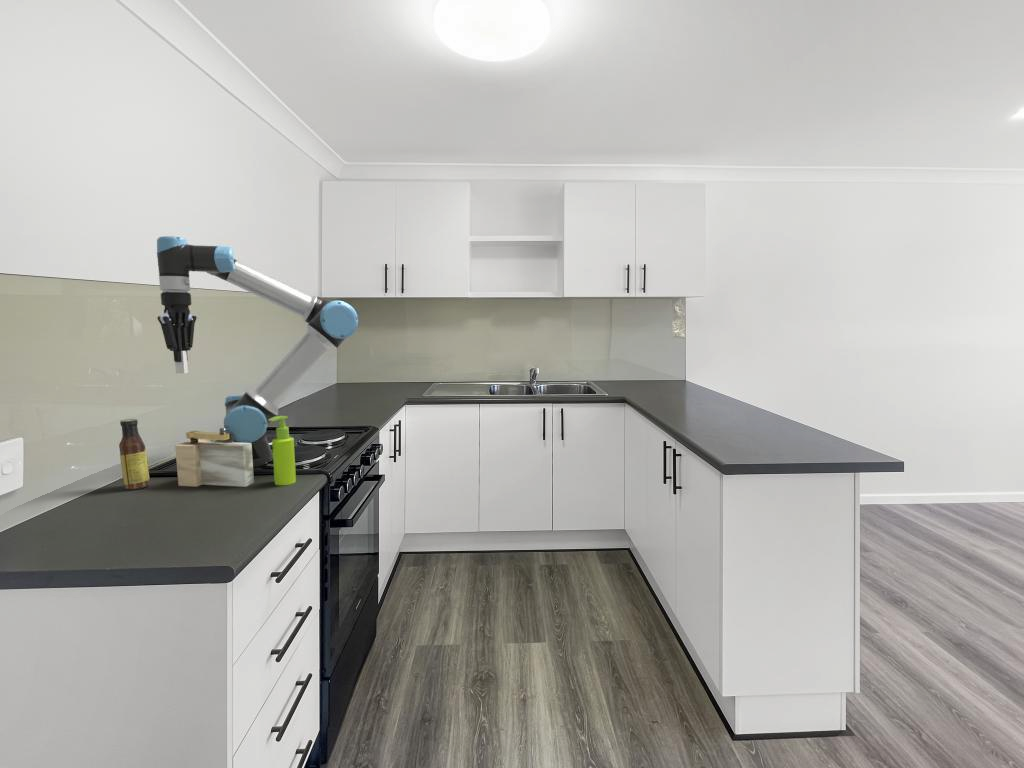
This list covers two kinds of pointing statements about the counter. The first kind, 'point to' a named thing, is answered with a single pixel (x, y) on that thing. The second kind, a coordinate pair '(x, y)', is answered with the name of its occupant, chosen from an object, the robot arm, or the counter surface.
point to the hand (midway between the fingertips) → (182, 372)
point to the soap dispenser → (283, 454)
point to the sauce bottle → (133, 456)
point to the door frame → (214, 463)
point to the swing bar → (209, 435)
